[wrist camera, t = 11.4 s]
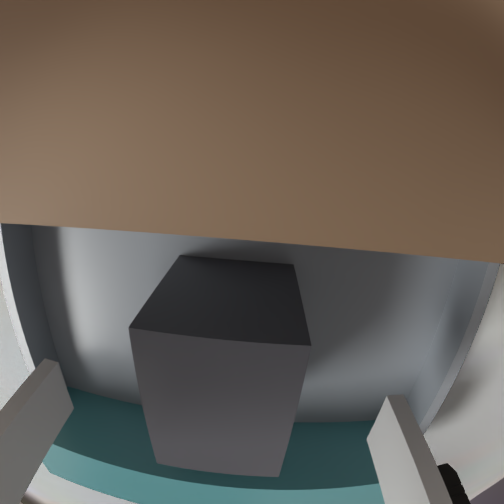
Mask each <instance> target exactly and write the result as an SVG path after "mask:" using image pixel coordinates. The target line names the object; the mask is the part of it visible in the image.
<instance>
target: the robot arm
mask: <svg viewBox="0 0 504 504" xmlns="http://www.w3.org/2000/svg"><path fill="white" fill-rule="evenodd" d="M73 409H74V407H73V404H72V401H71V399H70V396H69V393H68V390H67V387H66V384H65V381H64V378H63V375H62V372H61V369H60V366H59V363H58V362H56V361H52V360H49V359H45V358H44V360H43V361H42V362H41V363H40V364H39V365H38V366H37V368H36V369H35V370H34V371H33V372H32V373H31V375H30V376H29V377H28V378H27V379H26V380H25V382H24V383H23V384H22V385H21V386H20V388H19V389H18V390H17V391H16V392H15V394H14V395H13V396H12V397H11V398H10V400H9V401H8V402H7V403H6V405H5V406H4V407H3V408H2V410H1V411H0V504H19V503H20V501H21V499H22V497H23V495H24V494H25V492H26V490H27V488H28V486H29V484H30V482H31V481H32V479H33V477H34V475H35V473H36V472H37V470H38V468H39V466H40V465H41V463H42V461H43V459H44V458H45V456H46V454H47V452H48V451H49V449H50V447H51V446H52V444H53V442H54V440H55V439H56V437H57V435H58V434H59V432H60V430H61V429H62V427H63V425H64V424H65V422H66V421H67V419H68V417H69V416H70V414H71V412H72V411H73ZM367 443H368V446H369V449H370V453H371V456H372V459H373V463H374V466H375V470H376V473H377V477H378V480H379V484H380V487H381V491H382V495H383V498H384V502H385V504H470V502H469V499H468V497H467V495H466V494H465V490H464V488H463V486H462V485H461V481H460V479H459V477H458V475H457V472H456V471H455V470H454V469H453V468H452V467H451V466H450V465H449V464H448V463H446V464H443V465H439V466H437V465H436V463H435V460H434V458H433V456H432V454H431V451H430V449H429V447H428V445H427V443H426V440H425V438H424V436H423V434H422V432H421V430H420V427H419V425H418V423H417V421H416V419H415V417H414V415H413V413H412V411H411V409H410V407H409V405H408V403H407V401H406V399H405V397H404V395H403V394H401V395H389V396H386V398H385V401H384V403H383V405H382V407H381V410H380V412H379V414H378V416H377V418H376V421H375V423H374V425H373V427H372V429H371V431H370V433H369V435H368V437H367Z"/></svg>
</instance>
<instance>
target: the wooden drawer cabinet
mask: <svg viewBox="0 0 504 504" xmlns="http://www.w3.org/2000/svg"><path fill="white" fill-rule="evenodd" d="M0 223H8V224H25V225H42V226H58V227H74V228H89V229H104V230H118V231H133V232H147V233H161V234H174V235H187V236H201V237H214V238H226V239H239V240H251V241H264V242H276V243H288V244H300V245H311V246H323V247H334V248H346V249H357V250H368V251H379V252H390V253H400V254H411V255H421V256H432V257H442V258H452V259H462V260H472V261H482V262H491V263H501V264H504V0H0Z"/></svg>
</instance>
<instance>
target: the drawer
mask: <svg viewBox="0 0 504 504" xmlns="http://www.w3.org/2000/svg"><path fill="white" fill-rule="evenodd" d="M179 255H184V256H196V257H208V258H220V259H232V260H244V261H257V262H269V263H282V264H294V268H295V272H296V277H297V281H298V285H299V290H300V294H301V299H302V303H303V308H304V312H305V317H306V322H307V326H308V331H309V336H310V340H311V345H312V346H311V351H310V356H309V360H308V365H307V370H306V374H305V378H304V383H303V387H302V391H301V396H300V400H299V404H298V408H297V412H296V416H295V420H294V424H293V428H292V431H291V435H290V439H289V443H288V446H287V450H286V453H285V457H284V461H283V464H282V467H281V471H280V474H279V477H263V476H245V475H233V474H222V473H214V472H206V471H198V470H191V469H185V468H179V467H174V466H168V465H163V464H158V463H157V462H156V458H155V455H154V451H153V448H152V444H151V440H150V436H149V432H148V428H147V424H146V420H145V416H144V411H143V407H142V402H141V397H140V393H139V388H138V383H137V377H136V372H135V367H134V361H133V355H132V349H131V342H130V336H129V329H128V327H129V326H130V324H131V323H132V321H133V320H134V318H135V317H136V315H137V314H138V313H139V311H140V310H141V308H142V307H143V305H144V304H145V303H146V301H147V300H148V298H149V297H150V295H151V294H152V293H153V291H154V290H155V288H156V287H157V286H158V284H159V283H160V281H161V280H162V279H163V277H164V276H165V274H166V273H167V272H168V270H169V269H170V268H171V266H172V265H173V263H174V262H175V261H176V259H177V258H178V257H179ZM499 266H500V263H491V262H482V261H472V260H462V259H452V258H442V257H432V256H421V255H411V254H400V253H390V252H379V251H368V250H357V249H346V248H334V247H323V246H311V245H300V244H288V243H276V242H264V241H251V240H239V239H226V238H214V237H201V236H187V235H174V234H161V233H147V232H133V231H118V230H104V229H89V228H74V227H58V226H42V225H25V224H8V223H0V279H1V284H2V288H3V293H4V297H5V301H6V304H7V308H8V312H9V315H10V319H11V322H12V326H13V329H14V332H15V335H16V339H17V342H18V345H19V347H20V350H21V353H22V356H23V359H24V361H25V364H26V367H27V369H28V372H29V374H30V375H31V373H32V372H33V371H34V370H35V369H36V368H37V366H38V365H39V364H40V363H41V362H42V361H43V360H44V358H45V359H49V360H52V361H56V362H58V363H59V366H60V369H61V372H62V375H63V378H64V381H65V384H66V387H67V390H68V393H69V396H70V399H71V401H72V404H73V407H74V409H73V411H72V412H71V414H70V416H69V417H68V419H67V421H66V422H65V424H64V425H63V427H62V429H61V430H60V432H59V434H58V435H57V437H56V439H55V440H54V442H53V444H52V446H51V447H50V449H49V451H48V452H47V454H46V456H45V458H44V459H43V461H42V462H43V463H44V465H45V466H46V467H47V469H48V470H49V472H50V473H52V474H54V475H57V476H59V477H61V478H64V479H66V480H69V481H71V482H74V483H76V484H79V485H82V486H84V487H87V488H90V489H93V490H95V491H98V492H101V493H104V494H108V495H111V496H114V497H117V498H121V499H124V500H128V501H131V502H135V503H139V504H385V502H384V498H383V495H382V491H381V487H380V484H379V480H378V477H377V473H376V470H375V466H374V463H373V459H372V456H371V453H370V449H369V446H368V443H367V437H368V435H369V433H370V431H371V429H372V427H373V425H374V423H375V421H376V418H377V416H378V414H379V412H380V410H381V407H382V405H383V403H384V401H385V398H386V396H389V395H401V394H403V395H404V397H405V399H406V401H407V403H408V405H409V407H410V409H411V411H412V413H413V415H414V417H415V419H416V421H417V423H418V425H419V427H420V430H421V432H422V434H423V435H424V433H425V432H426V430H427V428H428V427H429V425H430V424H431V422H432V420H433V419H434V417H435V415H436V414H437V412H438V410H439V408H440V407H441V405H442V403H443V401H444V400H445V398H446V396H447V394H448V392H449V390H450V388H451V387H452V385H453V383H454V381H455V379H456V377H457V375H458V373H459V371H460V369H461V367H462V364H463V362H464V360H465V358H466V356H467V354H468V351H469V349H470V347H471V345H472V342H473V340H474V337H475V335H476V333H477V330H478V328H479V325H480V323H481V320H482V317H483V315H484V312H485V309H486V306H487V304H488V301H489V298H490V295H491V292H492V289H493V286H494V282H495V279H496V276H497V273H498V269H499Z"/></svg>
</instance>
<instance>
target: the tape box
mask: <svg viewBox="0 0 504 504" xmlns="http://www.w3.org/2000/svg"><path fill="white" fill-rule="evenodd" d="M128 329H129V336H130V342H131V349H132V355H133V361H134V367H135V372H136V377H137V383H138V388H139V393H140V397H141V402H142V407H143V411H144V416H145V420H146V424H147V428H148V432H149V436H150V440H151V444H152V448H153V451H154V455H155V458H156V462H157V463H158V464H163V465H168V466H174V467H179V468H185V469H191V470H198V471H206V472H214V473H222V474H233V475H245V476H263V477H279V474H280V471H281V467H282V464H283V461H284V457H285V453H286V450H287V446H288V443H289V439H290V435H291V431H292V428H293V424H294V420H295V416H296V412H297V408H298V404H299V400H300V396H301V391H302V387H303V383H304V378H305V374H306V370H307V365H308V360H309V356H310V351H311V346H312V345H311V340H310V336H309V331H308V326H307V322H306V317H305V312H304V308H303V303H302V299H301V294H300V290H299V285H298V281H297V277H296V272H295V268H294V264H282V263H269V262H257V261H244V260H232V259H220V258H208V257H196V256H184V255H179V257H178V258H177V259H176V261H175V262H174V263H173V265H172V266H171V268H170V269H169V270H168V272H167V273H166V274H165V276H164V277H163V279H162V280H161V281H160V283H159V284H158V286H157V287H156V288H155V290H154V291H153V293H152V294H151V295H150V297H149V298H148V300H147V301H146V303H145V304H144V305H143V307H142V308H141V310H140V311H139V313H138V314H137V315H136V317H135V318H134V320H133V321H132V323H131V324H130V326H129V327H128Z"/></svg>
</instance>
